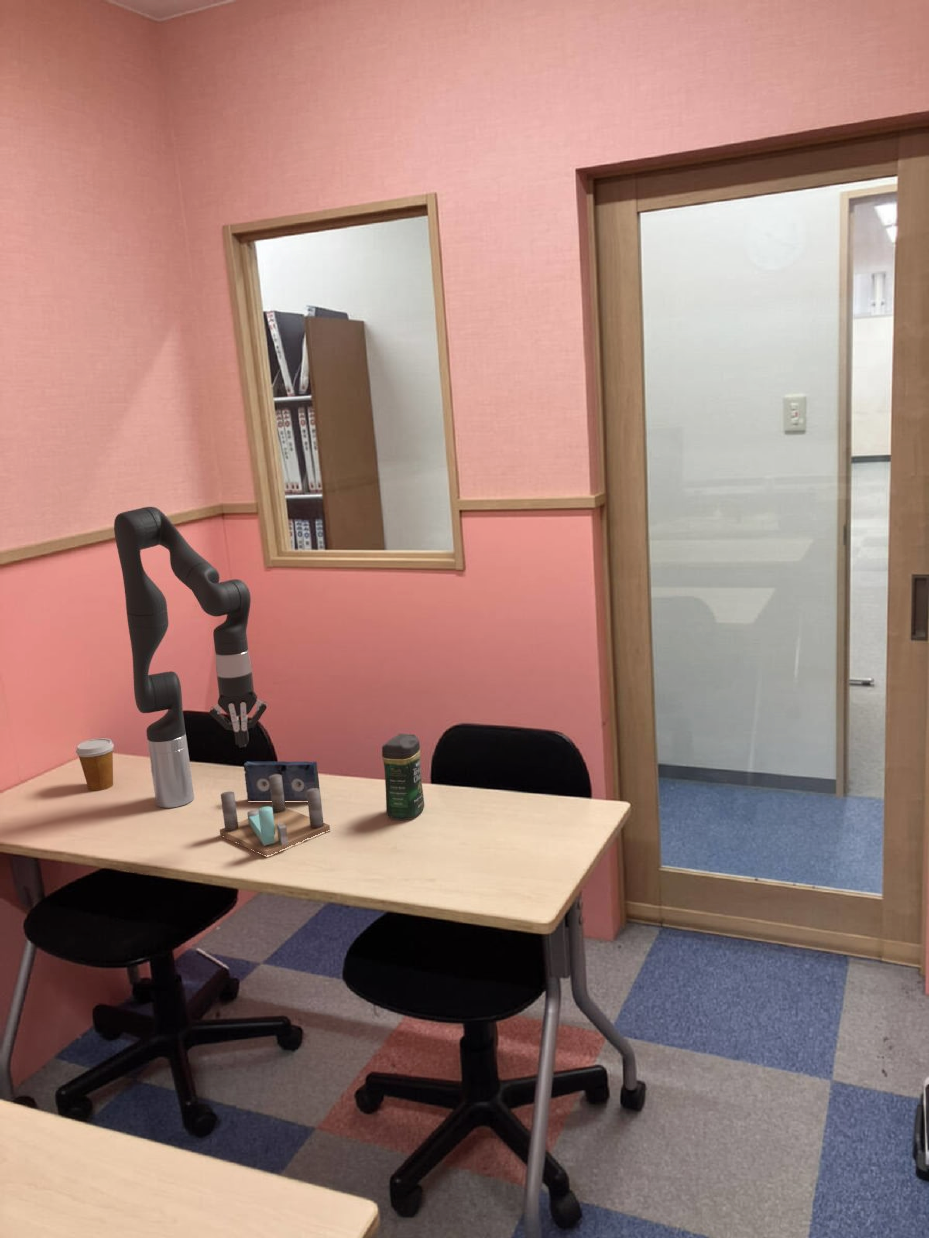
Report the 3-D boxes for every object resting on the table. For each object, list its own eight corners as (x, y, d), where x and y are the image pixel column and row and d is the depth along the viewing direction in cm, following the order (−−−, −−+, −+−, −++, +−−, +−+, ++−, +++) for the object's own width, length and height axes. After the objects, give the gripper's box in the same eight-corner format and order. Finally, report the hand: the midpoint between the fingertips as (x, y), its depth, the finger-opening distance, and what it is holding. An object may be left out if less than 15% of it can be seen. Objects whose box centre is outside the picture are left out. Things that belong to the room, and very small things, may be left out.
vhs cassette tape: (321, 799, 248) (317, 760, 246) (317, 803, 245) (313, 765, 243) (252, 797, 252) (247, 760, 250) (247, 802, 249) (242, 764, 247)
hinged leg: (246, 823, 232) (242, 789, 230) (259, 820, 233) (255, 786, 231) (264, 848, 217) (260, 813, 216) (278, 845, 219) (274, 809, 217)
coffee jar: (414, 822, 230) (407, 745, 226) (382, 819, 233) (375, 743, 229) (429, 805, 239) (423, 731, 235) (399, 803, 242) (392, 730, 238)
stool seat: (220, 835, 230) (215, 794, 228) (281, 811, 242) (277, 772, 240) (269, 858, 216) (264, 815, 214) (332, 831, 228) (327, 790, 226)
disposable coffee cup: (93, 780, 273) (86, 738, 270) (125, 779, 271) (119, 737, 269) (75, 793, 264) (68, 750, 261) (109, 793, 262) (102, 749, 260)
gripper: (201, 679, 215) (211, 755, 219) (264, 672, 217) (272, 748, 221) (204, 669, 223) (213, 743, 226) (265, 663, 224) (273, 737, 228)
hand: (242, 745), depth 224 cm, fingers closed
